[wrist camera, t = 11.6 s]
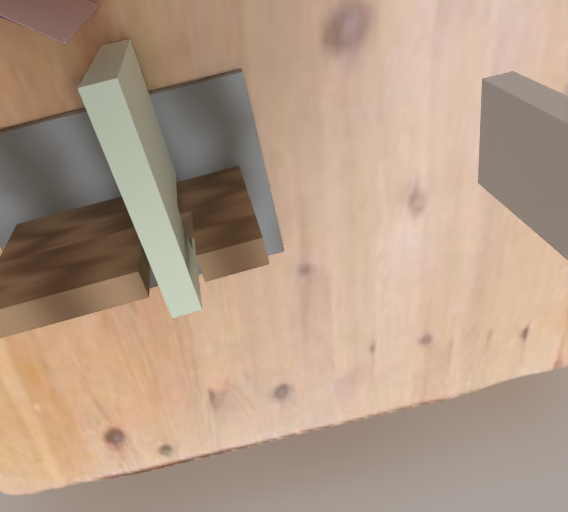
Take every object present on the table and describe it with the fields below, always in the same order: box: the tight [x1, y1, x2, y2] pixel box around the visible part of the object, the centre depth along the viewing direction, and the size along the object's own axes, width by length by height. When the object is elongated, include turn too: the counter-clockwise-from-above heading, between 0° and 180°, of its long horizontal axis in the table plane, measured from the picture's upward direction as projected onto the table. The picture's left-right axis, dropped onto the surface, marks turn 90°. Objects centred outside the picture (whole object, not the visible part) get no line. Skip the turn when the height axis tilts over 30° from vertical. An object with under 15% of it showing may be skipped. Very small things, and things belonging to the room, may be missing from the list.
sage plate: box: [77, 39, 202, 318], centre depth 35 cm, size 15×2×12 cm, turn 11°
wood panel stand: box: [0, 69, 284, 338], centre depth 37 cm, size 22×16×13 cm
